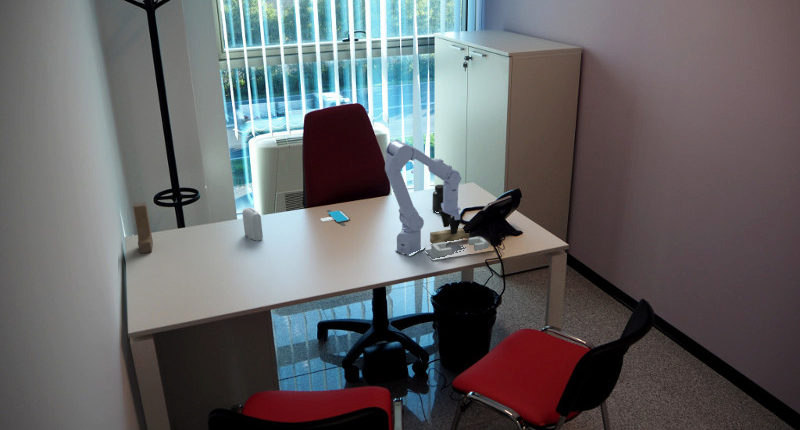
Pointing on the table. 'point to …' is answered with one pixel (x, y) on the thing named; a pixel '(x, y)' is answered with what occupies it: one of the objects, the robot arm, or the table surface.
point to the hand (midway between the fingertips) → (450, 230)
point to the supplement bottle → (437, 198)
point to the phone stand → (336, 217)
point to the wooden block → (143, 228)
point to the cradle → (455, 247)
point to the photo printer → (252, 224)
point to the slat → (447, 236)
